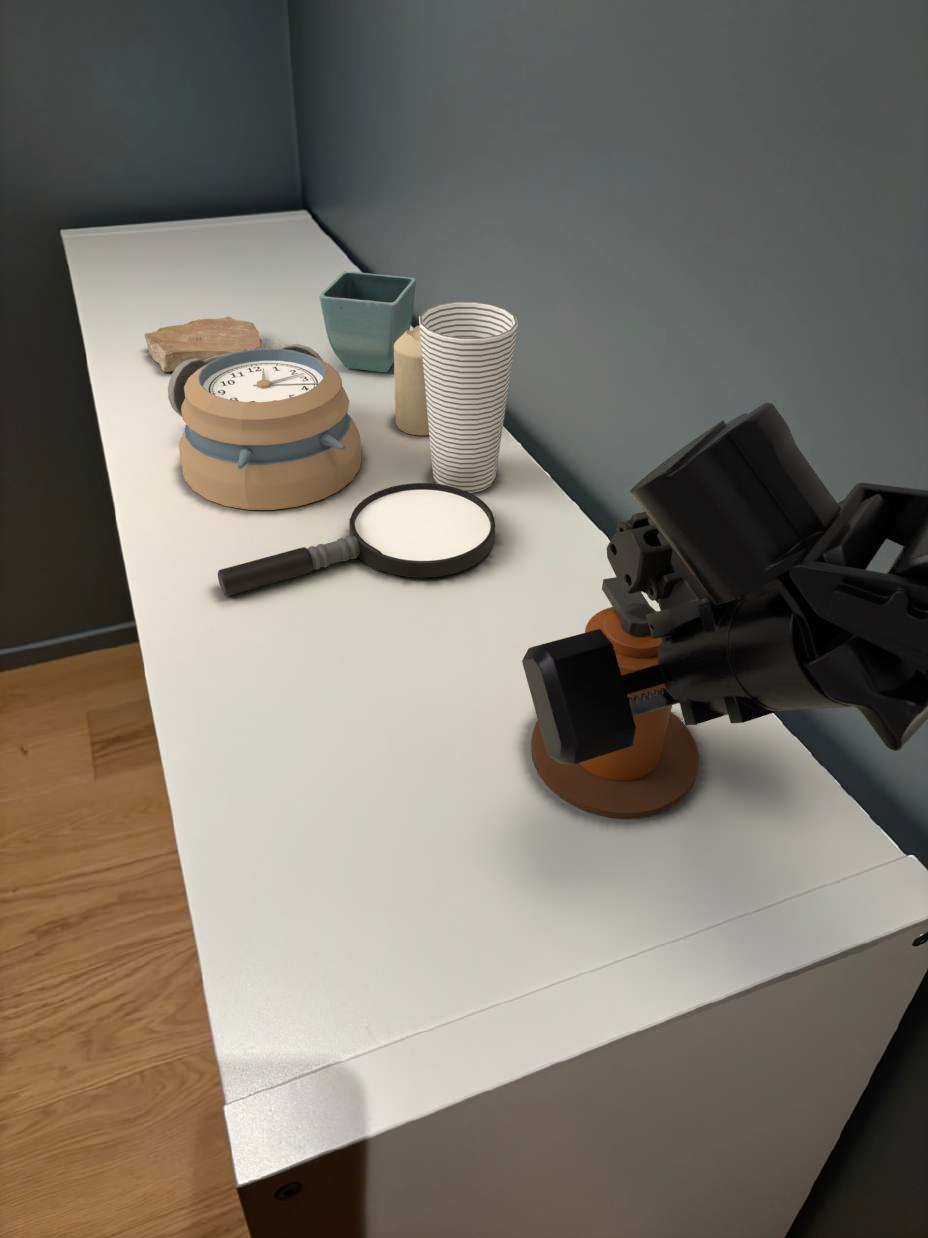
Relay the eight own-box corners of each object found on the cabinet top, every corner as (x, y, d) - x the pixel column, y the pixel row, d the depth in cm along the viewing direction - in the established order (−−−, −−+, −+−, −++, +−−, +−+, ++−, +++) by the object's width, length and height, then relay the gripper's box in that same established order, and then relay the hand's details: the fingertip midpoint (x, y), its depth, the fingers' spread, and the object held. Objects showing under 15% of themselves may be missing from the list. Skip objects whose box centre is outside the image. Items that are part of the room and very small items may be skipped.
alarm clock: (186, 432, 75) (140, 328, 91) (203, 527, 81) (157, 413, 97) (383, 398, 80) (307, 305, 96) (386, 489, 86) (314, 388, 102)
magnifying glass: (200, 553, 78) (196, 532, 76) (452, 487, 87) (452, 467, 85) (248, 640, 69) (244, 617, 68) (521, 556, 78) (522, 535, 77)
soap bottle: (675, 772, 59) (709, 637, 52) (588, 789, 58) (611, 653, 51) (635, 701, 64) (661, 570, 57) (554, 716, 63) (570, 583, 56)
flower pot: (347, 344, 112) (343, 269, 106) (417, 352, 111) (417, 276, 105) (323, 373, 105) (317, 295, 100) (397, 383, 104) (396, 304, 98)
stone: (255, 331, 114) (252, 311, 112) (267, 372, 105) (264, 350, 104) (147, 342, 111) (142, 321, 109) (149, 384, 102) (145, 362, 101)
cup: (519, 495, 86) (531, 334, 76) (430, 506, 84) (431, 343, 74) (493, 451, 92) (501, 297, 82) (410, 460, 90) (408, 304, 81)
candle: (397, 437, 94) (395, 342, 88) (393, 412, 98) (391, 320, 92) (451, 435, 95) (452, 341, 88) (445, 410, 99) (446, 319, 93)
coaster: (725, 742, 62) (726, 736, 62) (647, 848, 55) (649, 842, 55) (585, 673, 67) (586, 667, 67) (498, 763, 60) (499, 756, 60)
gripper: (888, 446, 46) (715, 519, 61) (554, 521, 40) (453, 581, 55) (953, 663, 45) (762, 683, 60) (624, 770, 39) (503, 764, 54)
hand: (626, 673), depth 57 cm, fingers open, 9 cm apart
